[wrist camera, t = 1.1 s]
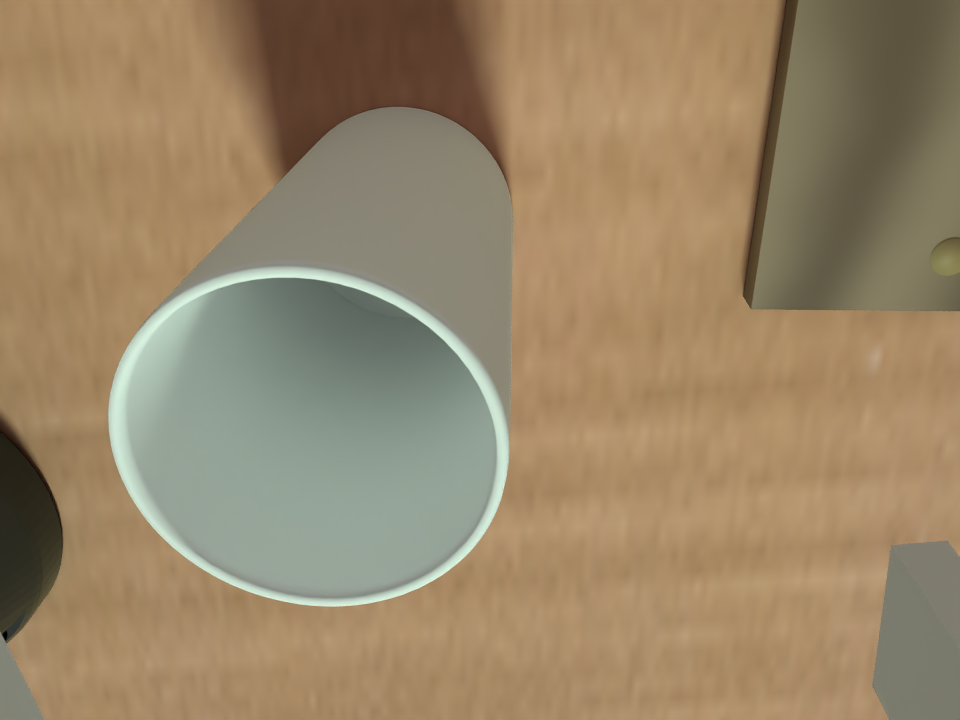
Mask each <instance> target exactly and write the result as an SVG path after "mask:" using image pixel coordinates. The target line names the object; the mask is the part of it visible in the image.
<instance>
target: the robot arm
mask: <svg viewBox="0 0 960 720" xmlns="http://www.w3.org/2000/svg"><path fill="white" fill-rule="evenodd" d="M61 559H62V534H61V527H60V523H59V519H58V515H57V512H56V509H55V506H54V504H53V502H52V499H51V497H50V495H49V493H48V491H47V489H46V487H45V485H44V484H43V482H42V480H41V479H40V477H39V475H38V474H37V473H36V471H35V470H34V468H33V467H32V465H31V464H30V463H29V462H28V461H27V459H26V458H25V457H24V456H23V454H22V453H21V452H20V451H19V450H18V449H17V448H16V447H15V446H14V445H13V444H12V443H11V442H10V441H9V440H8V439H7V438H6V437H5V436H4V435H3V434H2V433H1V432H0V720H44V718H43V716H42V714H41V712H40V710H39V708H38V706H37V704H36V702H35V700H34V698H33V696H32V694H31V692H30V690H29V688H28V686H27V684H26V682H25V680H24V678H23V676H22V674H21V672H20V670H19V668H18V666H17V664H16V662H15V660H14V658H13V656H12V654H11V652H10V650H9V648H8V646H7V644H6V643H8V642H9V641H10V640H11V639H12V638H13V637H14V636H15V635H16V634H17V633H18V632H19V631H20V630H21V629H22V628H23V627H24V626H25V625H26V623H27V622H28V621H29V619H30V618H31V617H32V615H33V614H34V612H35V611H36V610H37V608H38V607H39V606H40V604H41V603H42V601H43V600H44V599H45V597H46V596H47V594H48V593H49V591H50V590H51V588H52V586H53V584H54V582H55V580H56V578H57V575H58V572H59V569H60V565H61ZM872 686H873V688H874V690H875V692H876V694H877V696H878V698H879V700H880V702H881V704H882V706H883V708H884V710H885V711H886V713H887V715H888V717H889V719H890V720H960V557H959V555H958V554H957V553H956V551H955V550H954V549H953V547H952V546H951V545H950V544H949V542H948V541H939V542H927V543H914V544H902V545H891V550H890V558H889V565H888V573H887V580H886V588H885V595H884V603H883V610H882V618H881V625H880V633H879V640H878V648H877V655H876V663H875V670H874V678H873V685H872Z"/></svg>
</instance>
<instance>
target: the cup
mask: <svg viewBox="0 0 960 720" xmlns="http://www.w3.org/2000/svg"><path fill="white" fill-rule="evenodd" d="M512 251H513V211H512V202H511V197H510V193H509V189H508V186H507V183H506V180H505V178H504V176H503V173H502V171H501V170H500V168H499V166H498V164H497V162H496V161H495V159H494V158H493V156H492V155H491V153H490V152H489V151H488V150H487V149H486V147H485V146H484V145H483V144H482V143H481V142H480V141H479V140H478V139H477V138H476V137H475V136H474V135H472V134H471V133H470V132H469V131H468V130H466V129H465V128H463V127H462V126H460V125H459V124H457V123H455V122H454V121H452V120H450V119H448V118H446V117H443V116H441V115H439V114H436V113H433V112H430V111H426V110H422V109H417V108H409V107H386V108H378V109H374V110H369V111H366V112H363V113H360V114H357V115H355V116H353V117H350V118H348V119H346V120H345V121H343V122H341V123H340V124H338V125H337V126H335V127H334V128H333V129H331V130H330V131H329V132H328V133H326V134H325V135H324V136H323V137H322V138H321V139H320V140H319V141H318V142H317V143H316V144H315V145H314V146H313V147H312V148H311V149H310V150H309V151H308V153H307V154H306V155H305V156H304V157H303V158H302V159H301V160H300V161H299V162H298V163H297V164H296V165H295V166H294V167H293V168H292V169H291V170H290V171H289V172H288V173H287V174H286V175H285V176H284V177H283V178H282V179H281V180H280V181H279V182H278V183H277V184H276V185H275V186H274V187H273V188H272V189H271V191H270V192H269V193H268V194H267V195H266V196H265V197H264V198H263V199H262V200H261V201H260V202H259V203H258V204H257V205H256V206H255V207H254V208H253V209H252V210H251V211H250V212H249V213H248V214H247V215H246V216H245V217H244V218H243V219H242V220H241V221H240V222H239V223H238V224H237V225H236V226H235V227H234V229H233V230H232V231H231V232H230V233H229V234H228V235H227V236H226V237H225V238H224V239H223V240H222V241H221V242H220V243H219V244H218V245H217V246H216V247H215V248H214V249H213V250H212V251H211V252H210V253H209V254H208V255H207V256H206V257H205V258H204V259H203V260H202V261H201V262H200V263H199V264H198V265H197V267H196V268H195V269H194V270H193V271H192V272H191V273H190V274H189V275H188V276H187V277H186V278H185V279H184V280H183V281H182V282H181V283H180V284H179V285H178V286H177V287H176V288H175V289H174V290H173V291H172V292H171V294H170V295H169V296H168V297H167V298H166V299H165V300H164V301H163V302H162V303H161V304H160V305H159V306H158V307H157V308H156V309H155V310H154V311H153V312H152V314H151V315H150V316H149V317H148V318H147V319H146V321H145V322H144V323H143V324H142V325H141V327H140V328H139V330H138V331H137V333H136V334H135V336H134V337H133V339H132V341H131V342H130V344H129V345H128V347H127V349H126V351H125V353H124V355H123V357H122V359H121V361H120V363H119V365H118V368H117V371H116V374H115V376H114V379H113V384H112V388H111V393H110V400H109V411H108V418H109V434H110V441H111V447H112V451H113V455H114V459H115V462H116V465H117V468H118V470H119V473H120V476H121V478H122V480H123V482H124V484H125V487H126V489H127V491H128V493H129V494H130V496H131V498H132V499H133V501H134V503H135V504H136V506H137V507H138V509H139V510H140V511H141V513H142V514H143V516H144V517H145V518H146V520H147V521H148V522H149V523H150V524H151V526H152V527H153V528H154V529H155V530H156V531H157V532H158V533H159V535H160V536H162V537H163V538H164V539H165V540H166V541H167V542H168V543H169V544H170V545H171V546H172V547H173V548H174V549H176V550H177V551H178V552H179V553H181V554H182V555H183V556H184V557H186V558H187V559H188V560H190V561H191V562H193V563H194V564H196V565H197V566H198V567H200V568H201V569H203V570H205V571H207V572H208V573H210V574H212V575H213V576H215V577H217V578H219V579H221V580H223V581H225V582H227V583H229V584H231V585H233V586H236V587H238V588H241V589H243V590H246V591H248V592H251V593H254V594H257V595H261V596H264V597H267V598H271V599H275V600H279V601H284V602H290V603H296V604H302V605H313V606H351V605H360V604H367V603H373V602H377V601H382V600H386V599H390V598H393V597H396V596H400V595H403V594H405V593H408V592H410V591H413V590H415V589H418V588H420V587H422V586H424V585H426V584H427V583H429V582H431V581H433V580H435V579H436V578H438V577H439V576H441V575H443V574H444V573H446V572H447V571H448V570H450V569H451V568H452V567H453V566H455V565H456V564H457V563H458V562H460V561H461V560H462V559H463V558H464V557H465V556H466V555H467V554H468V553H469V552H470V551H471V550H472V548H473V547H474V546H475V545H476V544H477V542H478V541H479V540H480V539H481V537H482V536H483V534H484V533H485V531H486V530H487V528H488V527H489V525H490V523H491V521H492V519H493V517H494V515H495V513H496V511H497V508H498V505H499V503H500V500H501V497H502V493H503V489H504V485H505V481H506V476H507V471H508V463H509V454H510V400H511V326H512Z"/></svg>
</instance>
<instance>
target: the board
mask: <svg viewBox="0 0 960 720" xmlns="http://www.w3.org/2000/svg"><path fill="white" fill-rule="evenodd" d="M743 297H744V299H745V300H746V302H747V303H748V305H749V306H750V308H751V309H785V310H891V311H960V0H787V4H786V10H785V17H784V24H783V31H782V38H781V44H780V51H779V58H778V65H777V72H776V78H775V85H774V92H773V99H772V106H771V112H770V119H769V126H768V133H767V140H766V146H765V153H764V160H763V167H762V174H761V180H760V187H759V194H758V201H757V208H756V214H755V221H754V228H753V235H752V242H751V248H750V255H749V262H748V269H747V276H746V282H745V289H744V296H743Z"/></svg>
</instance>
